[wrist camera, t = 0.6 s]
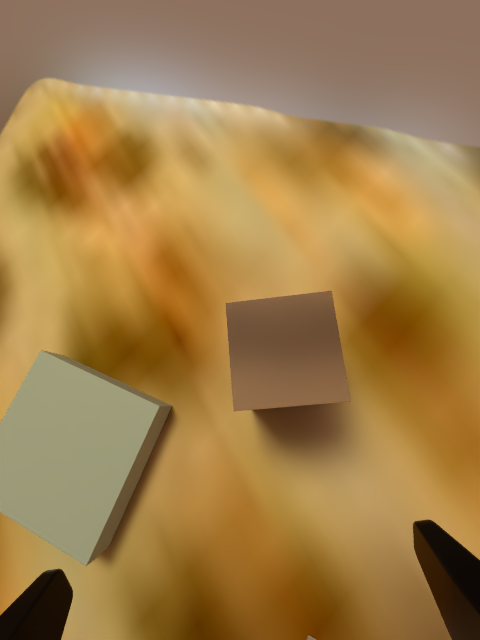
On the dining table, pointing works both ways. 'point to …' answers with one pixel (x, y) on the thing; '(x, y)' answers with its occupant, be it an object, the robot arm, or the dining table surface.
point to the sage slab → (74, 453)
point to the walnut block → (285, 352)
